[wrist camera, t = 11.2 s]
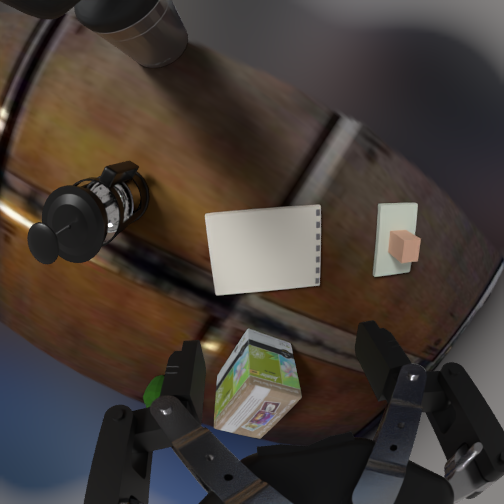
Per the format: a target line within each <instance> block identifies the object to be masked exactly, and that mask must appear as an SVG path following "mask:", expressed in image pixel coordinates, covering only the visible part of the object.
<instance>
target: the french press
mask: <svg viewBox="0 0 504 504" xmlns="http://www.w3.org/2000/svg"><path fill="white" fill-rule="evenodd" d="M138 168H139V166H138V165H136V164H134V163H133V162H131V161H126V162H122V163H117V164H113V165H109V166H106V167H105V168H104V170H103V172H102V175H101V176H99V177H97V178H87V179H83V180H80V181H78V182H76V183H75V184H74V185H67V186H63V187H60V188H58V189H56V190H55V191H53V192H52V193H51V194H50V196H49V197H48V198H47V200H46V202H45V205H44V208H43V212H42V223H41V222H38V223H35V224H33V225H32V226H31V228H30V229H29V232H28V245H29V249H30V251H31V253H32V255H33V256H34V257H35V259H37V260H38V261H39V262H41V263H43V264H51V263H53V262H55V260H56V259H57V257H58V255H59V256H60V257H61V258H63V259H65V260H67V261H70V262H74V263H82V262H86V261H89V260H90V259H92V258H93V257H94V256H95V255H96V254H97V253H98V252H99V250H100V249H101V247H102V246H105V245H106V244H108V243H109V242H111V241H112V240H113V239H114V238H115V237H116V236H117V235H118V234H119V233H120V232H121V231H122V230H123V229H125V228H126V227H127V226H128V225H129V224H131V223H132V222H134V221H136V220H138V219H139V218H140V217H141V216H142V215H143V214H144V212H145V211H146V209H147V206H148V203H149V189H148V186H147V183H146V181H145V180H144V178H143V177H142V176H141V175H140V174H139V173H138V172H137V170H138ZM130 179H132V180H133V181H134V182H135V183H136V185H137V187H138V189H139V192H140V197H141V201H140V205H139V207H138V209H137V210H136V211H135V212H134V213H133V197H132V194H131V191H130V189H129V187H128V186H127V185H126V183H125V181H127V180H130ZM83 181H91V182H90V183H89V184H86V185H83V186H81V187H77V185H79V184H80V183H81V182H83ZM132 213H133V214H132ZM107 232H116V233H115V234H114V236H113V237H112V238H111V239H110V240H109V241H106V242H104V240H105V238H106V235H107Z"/></svg>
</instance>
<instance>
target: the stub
mask: <svg viewBox="0 0 504 504" xmlns="http://www.w3.org/2000/svg"><path fill="white" fill-rule="evenodd" d="M417 206H418V204H417V203H386V204H378V217H377V234H376V246H375V257H374V267H373V276H374V277H378V276H386V275H393V274H400V273H407V272H410V267H411V262H415V261H418V255H419V248H420V241H421V239H420V238H418V237H417V236H415V229H416V219H417Z"/></svg>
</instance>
